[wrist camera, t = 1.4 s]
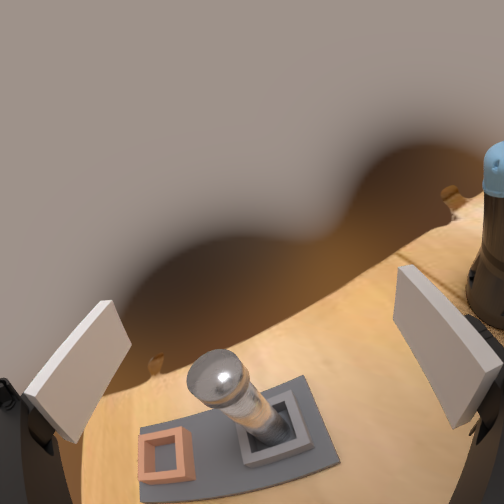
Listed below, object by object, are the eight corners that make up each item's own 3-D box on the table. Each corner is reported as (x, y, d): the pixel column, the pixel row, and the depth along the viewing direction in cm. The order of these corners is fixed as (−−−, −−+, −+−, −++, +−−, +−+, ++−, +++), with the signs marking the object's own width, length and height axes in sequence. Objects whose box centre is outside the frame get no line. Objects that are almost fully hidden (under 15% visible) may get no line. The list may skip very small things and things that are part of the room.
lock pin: (288, 410, 31) (235, 341, 23) (299, 442, 27) (244, 386, 19) (253, 423, 31) (185, 360, 23) (261, 455, 27) (187, 405, 19)
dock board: (305, 378, 35) (298, 365, 34) (340, 462, 23) (336, 457, 21) (144, 430, 36) (130, 421, 34) (145, 503, 24) (128, 498, 22)
